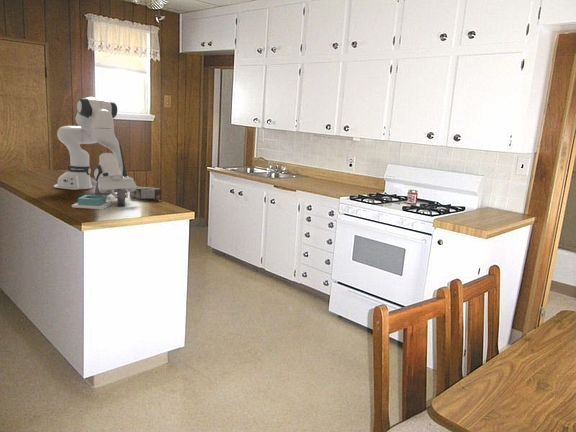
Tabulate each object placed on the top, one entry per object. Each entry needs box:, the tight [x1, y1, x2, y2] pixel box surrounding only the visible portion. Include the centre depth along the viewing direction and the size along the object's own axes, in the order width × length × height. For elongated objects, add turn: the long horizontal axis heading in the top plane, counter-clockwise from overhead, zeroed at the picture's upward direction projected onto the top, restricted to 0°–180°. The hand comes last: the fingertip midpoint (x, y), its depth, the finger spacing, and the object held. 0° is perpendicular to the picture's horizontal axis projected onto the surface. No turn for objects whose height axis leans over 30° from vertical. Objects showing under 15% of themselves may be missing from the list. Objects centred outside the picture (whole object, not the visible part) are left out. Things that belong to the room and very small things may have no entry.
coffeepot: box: [93, 167, 111, 196], centre depth 281 cm, size 15×9×18 cm, turn 68°
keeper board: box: [71, 194, 113, 210], centre depth 247 cm, size 16×14×5 cm
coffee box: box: [129, 185, 162, 202], centre depth 277 cm, size 9×6×16 cm
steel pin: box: [116, 189, 126, 208], centre depth 251 cm, size 4×4×9 cm
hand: (121, 197), depth 251 cm, fingers closed on steel pin, 4 cm apart
